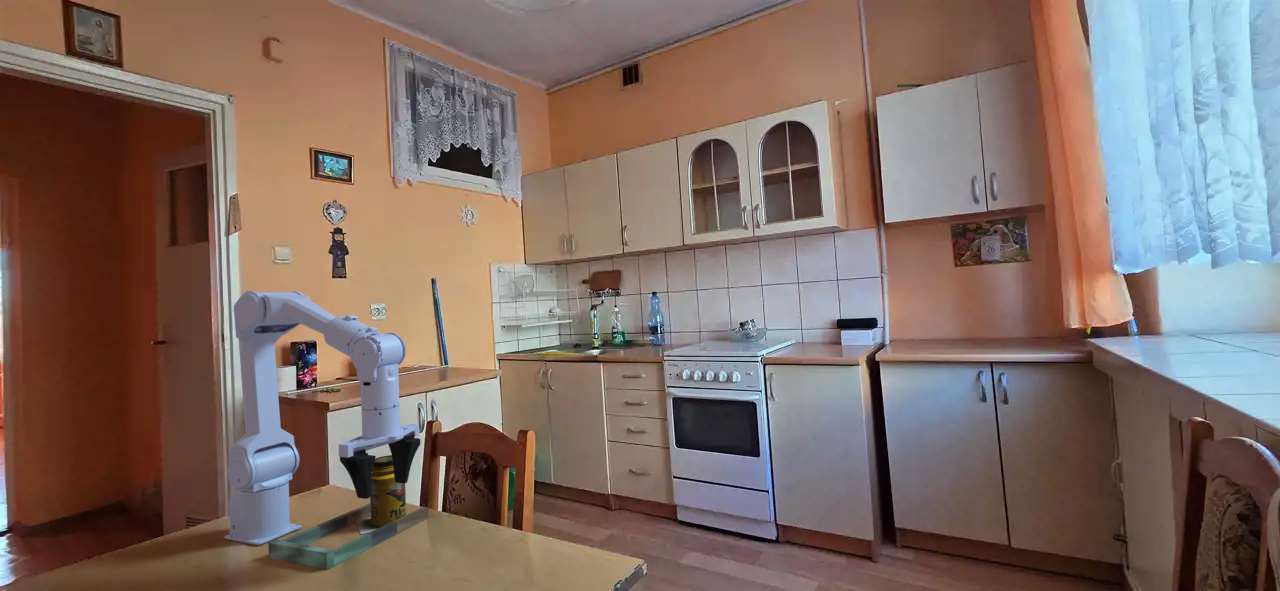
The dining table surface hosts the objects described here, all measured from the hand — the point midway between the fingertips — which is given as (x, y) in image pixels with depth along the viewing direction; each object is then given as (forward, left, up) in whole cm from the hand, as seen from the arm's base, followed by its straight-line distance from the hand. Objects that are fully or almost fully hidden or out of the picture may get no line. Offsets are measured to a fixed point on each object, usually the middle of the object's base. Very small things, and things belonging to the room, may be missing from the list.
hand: (383, 489), depth 91 cm
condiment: (-10, +9, -10) cm, 17 cm away
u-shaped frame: (-10, +4, -10) cm, 15 cm away
